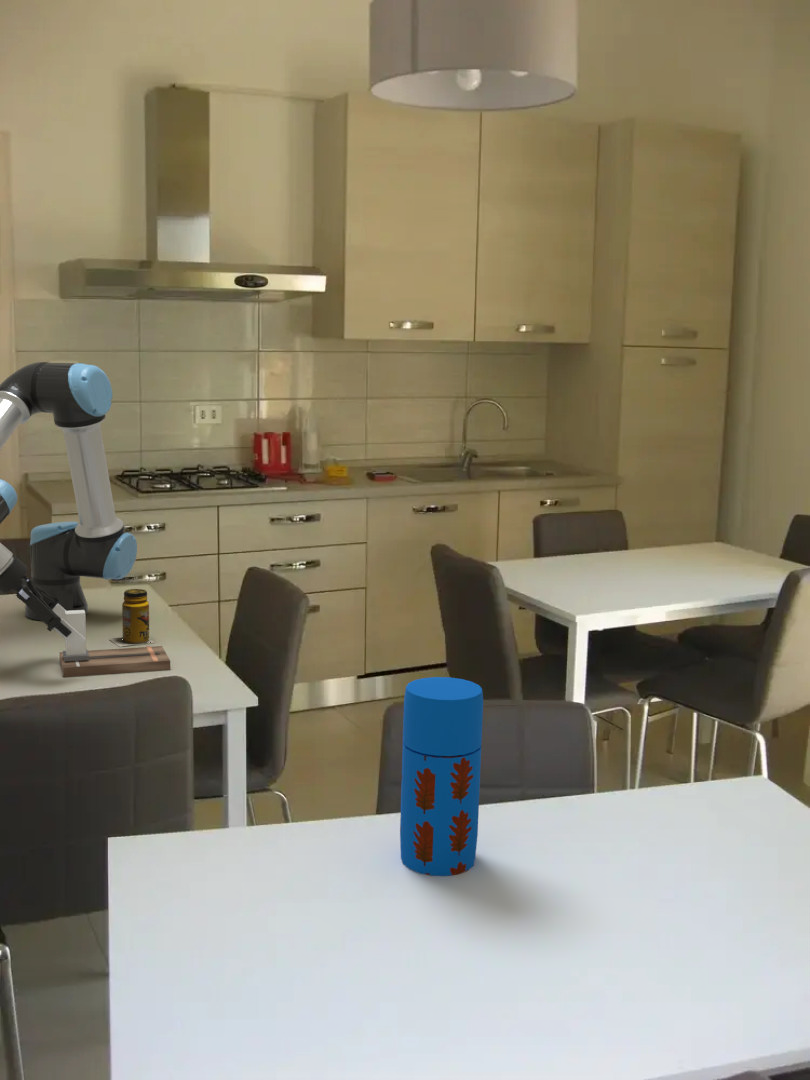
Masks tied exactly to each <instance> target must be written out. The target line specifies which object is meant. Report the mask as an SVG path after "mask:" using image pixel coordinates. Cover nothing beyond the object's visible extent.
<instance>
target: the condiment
mask: <svg viewBox="0 0 810 1080" xmlns="http://www.w3.org/2000/svg"><path fill="white" fill-rule="evenodd" d="M123 596H124V597H123V602H122V604H121V605H122V610H121V611H122V614H121V615H122V616H121V617H122V636H121V637H111V638H109V640H110V641H111V642H112V643H114V644H115V645H116V646H118V647H121V648H122V647H127V646H140V645H144V644H143V643H148V642H149V643H148V644H154V643H155V640H152V639H150V603H149V601H148V592H147V590H146V589H142V588H131V589H126V590H125V591H124V592H123ZM122 639H123V640H122ZM150 642H151V643H150ZM148 644H147V645H148Z"/></svg>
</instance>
